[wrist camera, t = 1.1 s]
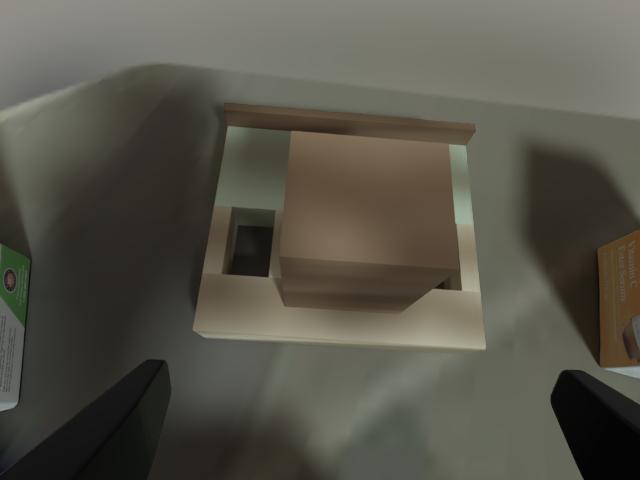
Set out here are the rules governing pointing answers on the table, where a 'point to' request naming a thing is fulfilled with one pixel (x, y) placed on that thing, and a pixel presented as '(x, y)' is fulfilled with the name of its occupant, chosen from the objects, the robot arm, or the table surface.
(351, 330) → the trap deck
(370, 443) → the table surface
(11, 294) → the ink box
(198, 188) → the table surface
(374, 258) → the walnut block
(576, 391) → the robot arm
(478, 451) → the table surface
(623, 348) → the small box
